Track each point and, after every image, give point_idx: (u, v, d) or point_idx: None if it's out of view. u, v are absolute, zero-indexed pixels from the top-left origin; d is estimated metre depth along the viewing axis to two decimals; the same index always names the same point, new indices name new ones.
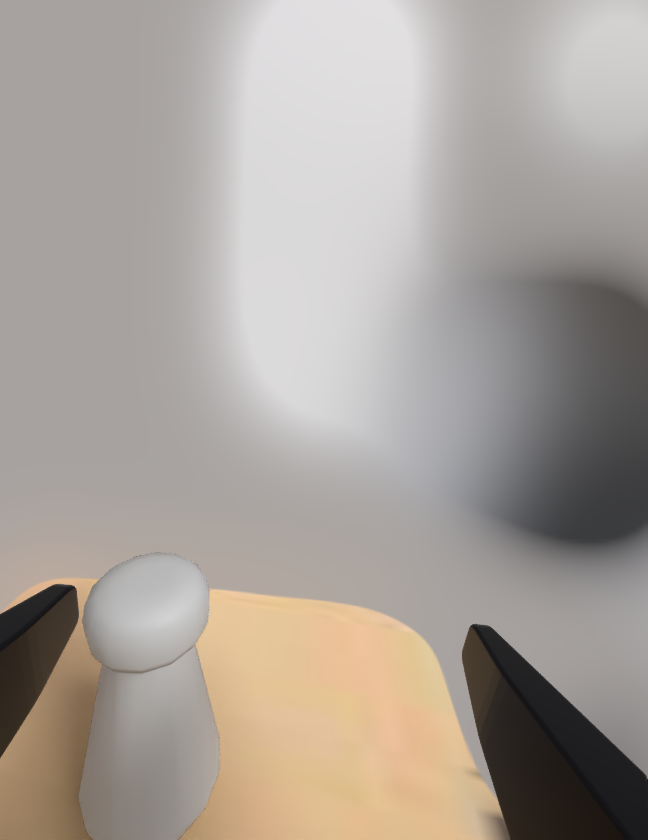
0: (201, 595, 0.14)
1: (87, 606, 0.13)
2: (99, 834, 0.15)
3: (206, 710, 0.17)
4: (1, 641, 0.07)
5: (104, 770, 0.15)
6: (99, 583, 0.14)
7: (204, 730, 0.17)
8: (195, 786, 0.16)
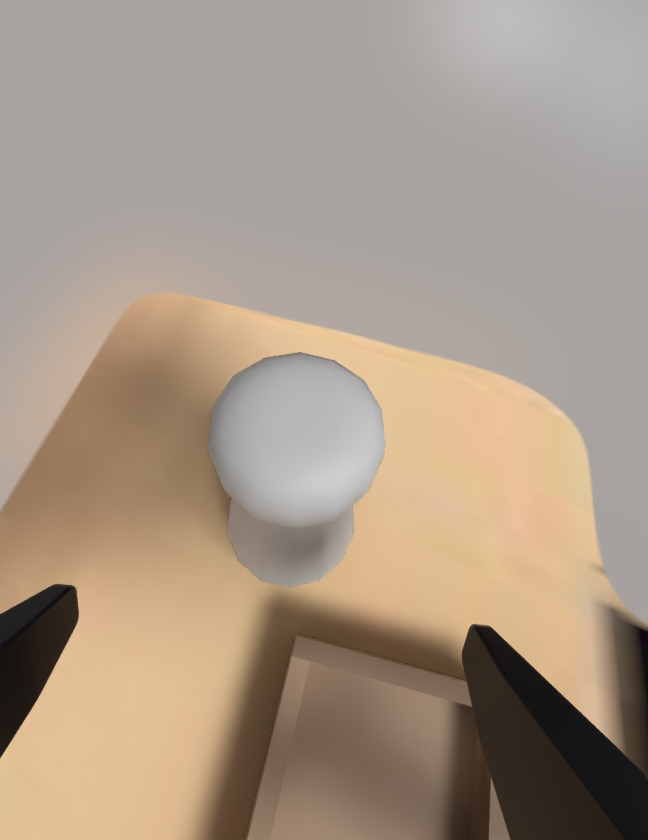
0: (380, 447, 0.09)
1: (213, 444, 0.09)
2: (251, 569, 0.17)
3: (351, 511, 0.15)
4: (1, 641, 0.07)
5: (252, 546, 0.14)
6: (224, 408, 0.09)
7: (348, 523, 0.15)
8: (335, 557, 0.16)
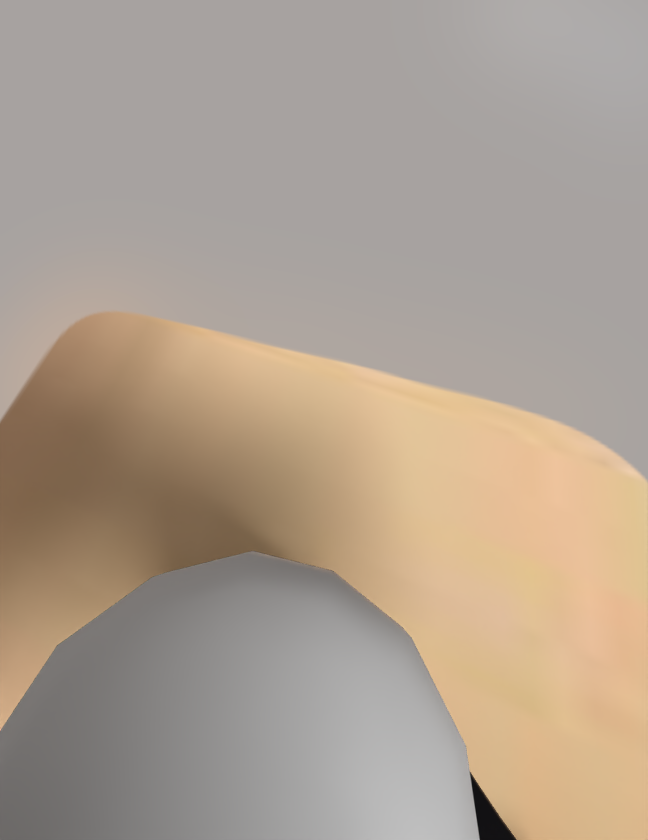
0: None
1: None
2: None
3: None
4: None
5: None
6: None
7: None
8: None
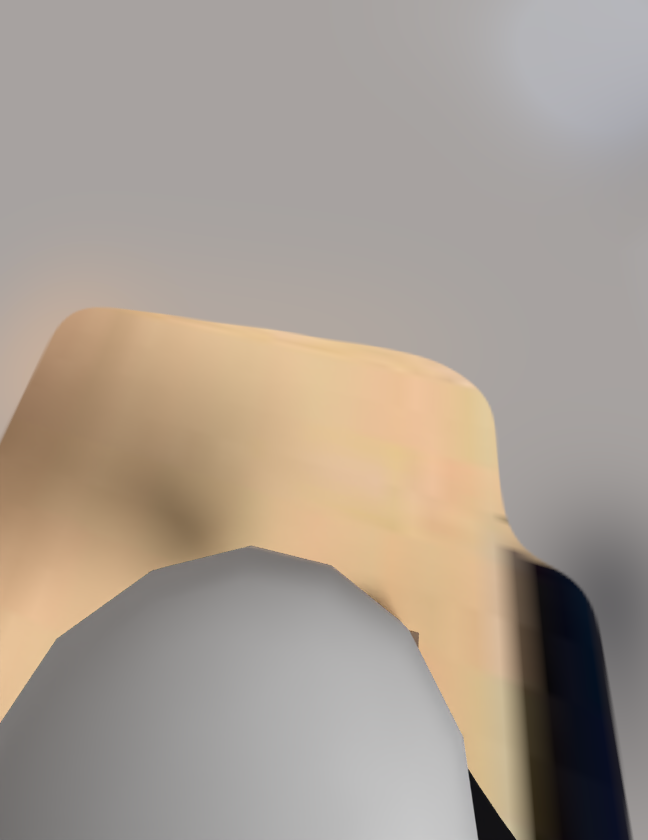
0: None
1: None
2: None
3: None
4: None
5: None
6: None
7: None
8: None
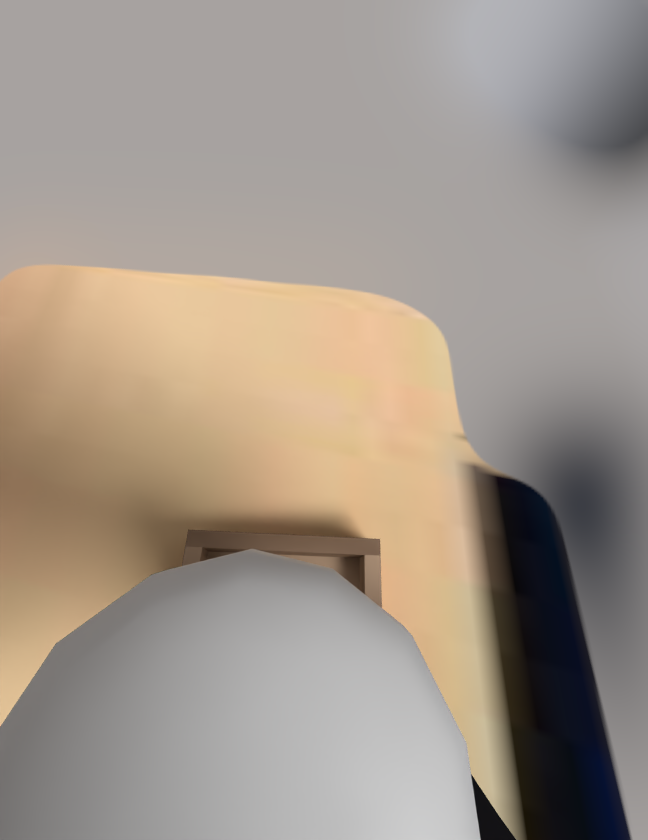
0: None
1: None
2: None
3: None
4: None
5: None
6: None
7: None
8: None
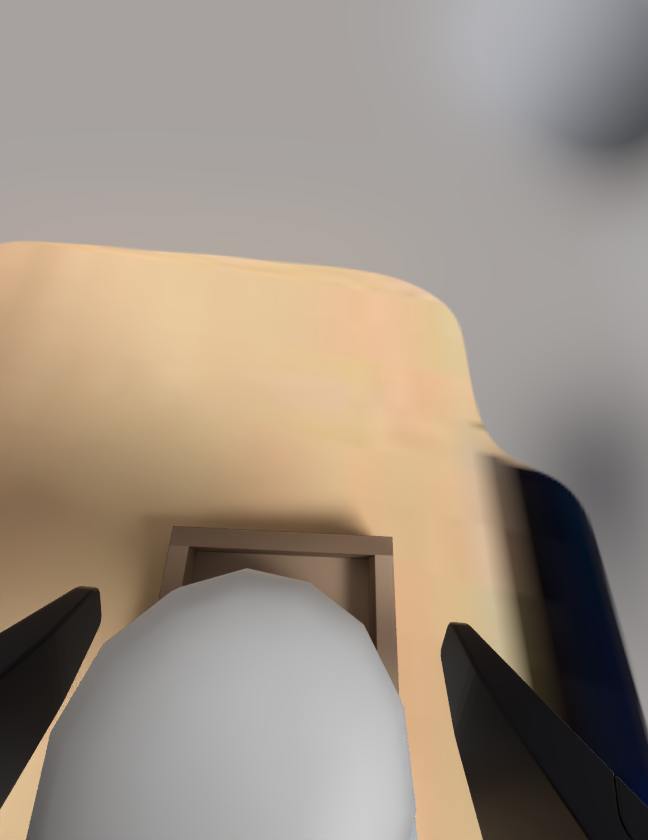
0: (405, 830, 0.04)
1: None
2: None
3: None
4: (31, 644, 0.07)
5: None
6: (58, 769, 0.04)
7: None
8: None
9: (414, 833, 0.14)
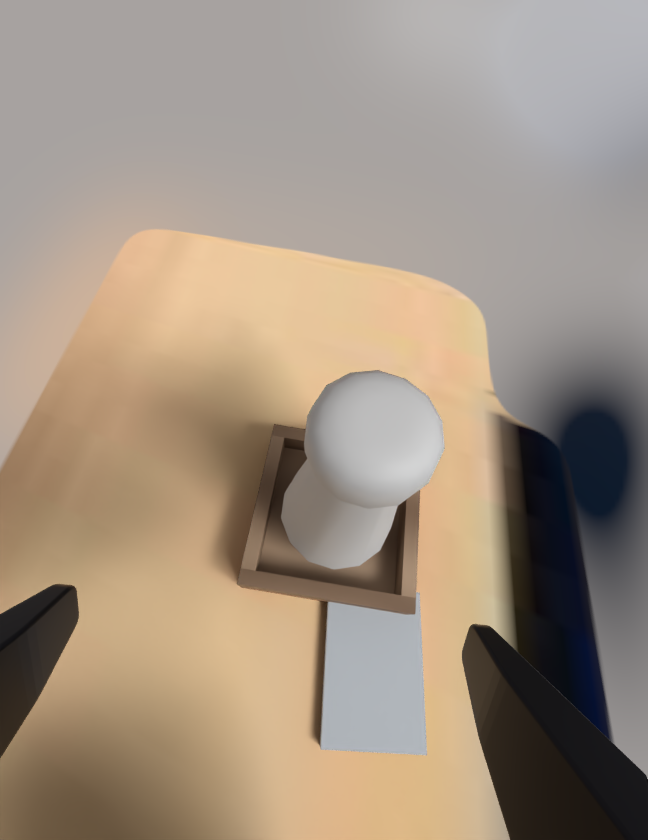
0: (440, 450, 0.11)
1: (312, 437, 0.11)
2: (301, 550, 0.19)
3: (396, 505, 0.17)
4: (1, 641, 0.07)
5: (310, 528, 0.17)
6: (322, 410, 0.11)
7: (391, 516, 0.18)
8: (376, 546, 0.19)
9: (419, 632, 0.21)
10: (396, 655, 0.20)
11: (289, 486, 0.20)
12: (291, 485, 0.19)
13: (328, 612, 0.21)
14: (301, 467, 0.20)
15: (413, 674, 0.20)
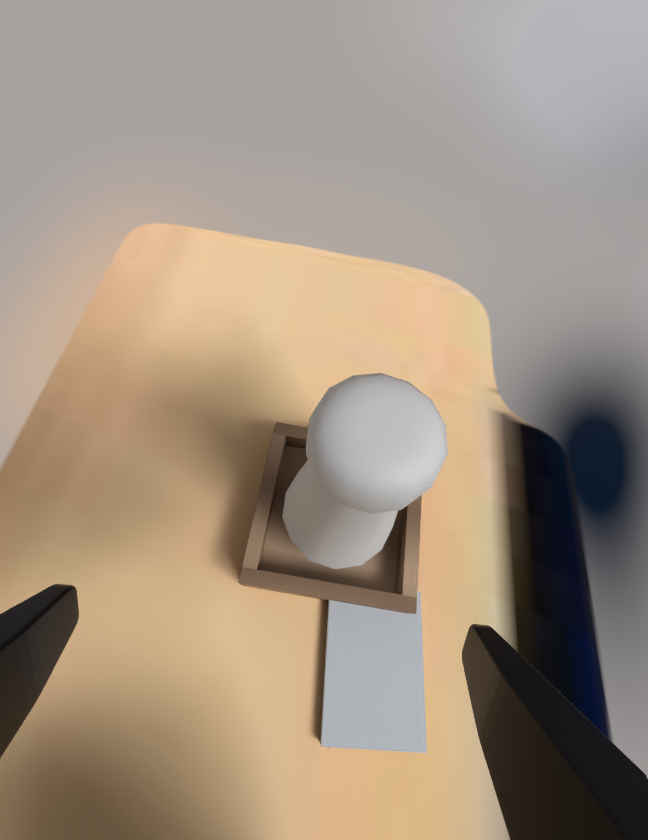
0: (444, 455, 0.11)
1: (314, 442, 0.11)
2: (302, 550, 0.19)
3: None
4: (1, 641, 0.07)
5: (312, 529, 0.17)
6: (324, 414, 0.11)
7: (393, 517, 0.18)
8: (377, 546, 0.19)
9: (420, 631, 0.21)
10: (396, 654, 0.20)
11: (290, 485, 0.20)
12: (292, 485, 0.19)
13: (329, 611, 0.21)
14: (303, 466, 0.20)
15: (413, 673, 0.20)
